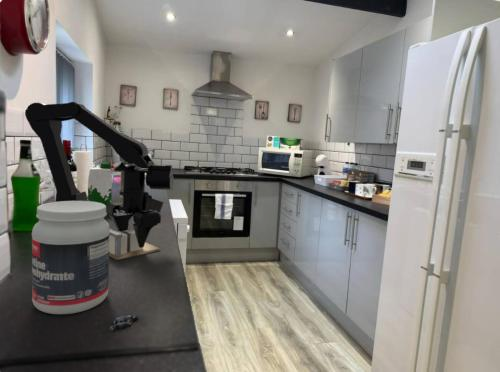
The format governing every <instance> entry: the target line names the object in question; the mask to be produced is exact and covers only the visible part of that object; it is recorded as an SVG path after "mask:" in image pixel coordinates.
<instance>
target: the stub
mask: <svg viewBox="0 0 500 372" xmlns="http://www.w3.org/2000/svg"><path fill="white" fill-rule="evenodd" d="M122 233H125V234H127V251H128V252H132V251H137V250H142V249H143V247H142V248H140V247H139V245H138V242H137V238H136V234H135V231H134V228H133V229H132V228H131V229H128V230H125V231H123V230H122Z"/></svg>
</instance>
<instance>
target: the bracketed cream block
mask: <svg viewBox="0 0 500 372" xmlns="http://www.w3.org/2000/svg"><path fill="white" fill-rule="evenodd" d="M109 253H111V254H113V255H116V256H117V257H118V256H121V254H123V253H127V234H125V233H122V232H120V231H119V232H118V231H117V230H114V229H112V228H110V235H109Z"/></svg>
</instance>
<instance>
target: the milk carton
mask: <svg viewBox="0 0 500 372" xmlns="http://www.w3.org/2000/svg"><path fill="white" fill-rule="evenodd" d="M112 177H113V176H112V163H111V162H110V163H109V162H108V163H107V162H103V163H102V162H101V163H100V167H98V166H97V167H89V172H88V178H87V200H88V201H92V202H98V203H102V204H104V205H106V212H107V207H108V206H109V205H110V203H112V194H113V191H112V189H113V188H112V187H113V184H112V183H113V180H112Z"/></svg>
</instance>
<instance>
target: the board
mask: <svg viewBox="0 0 500 372" xmlns="http://www.w3.org/2000/svg"><path fill="white" fill-rule="evenodd" d="M158 251H159V252H160V251H161V247H157V246H155V245H153V244H150V243H148V242H145V244H144V247H143V249H142V250H137V251H132V252H128V251H127V253H123V254H121V256H118V257H117V256H116V255H113V254H111V253H109V258H110V257H111V258H113V259H114V260H116V261H117V260H123V259H127V258H131V257H137V256H141V255H146V254H150V253H155V252H158Z"/></svg>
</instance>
